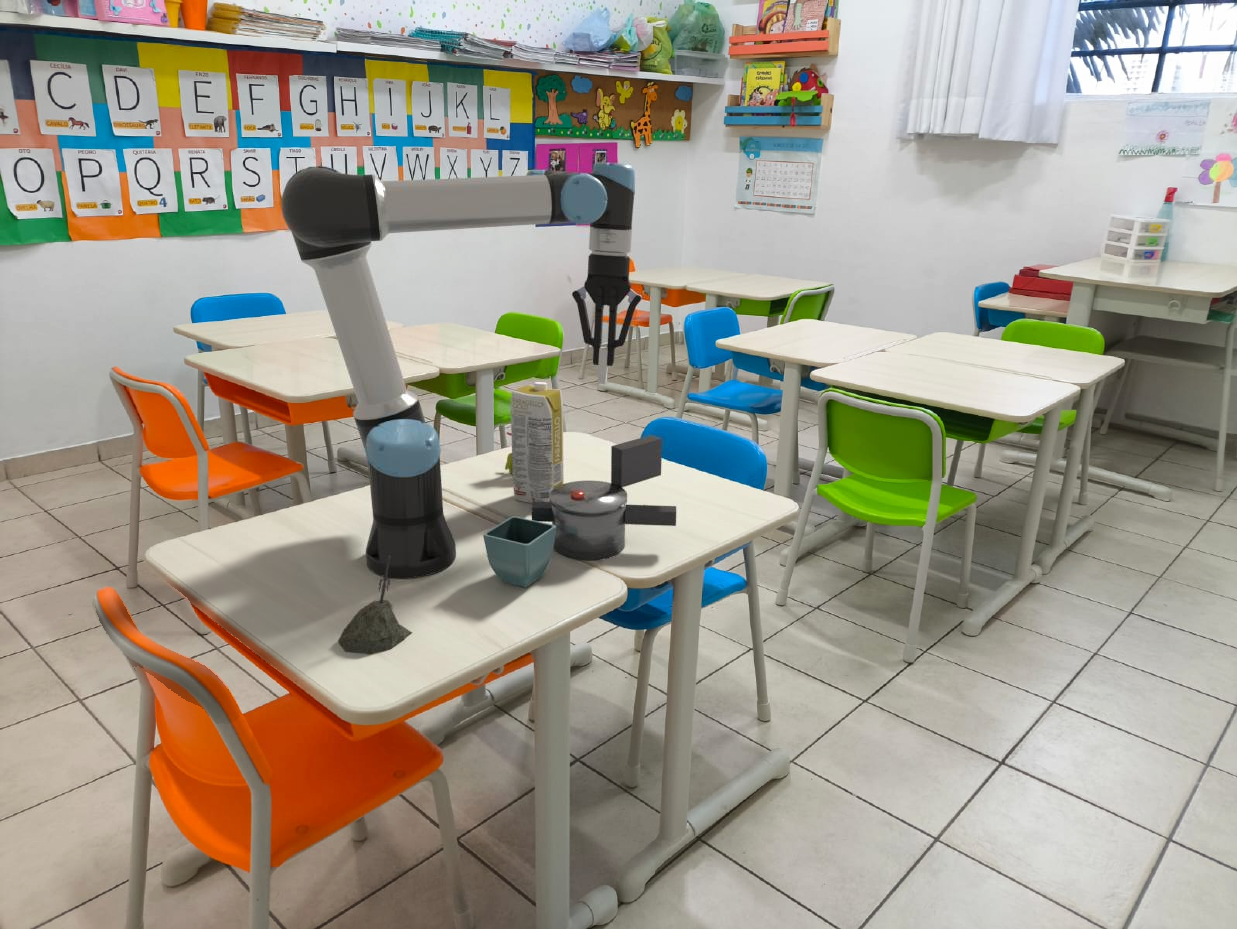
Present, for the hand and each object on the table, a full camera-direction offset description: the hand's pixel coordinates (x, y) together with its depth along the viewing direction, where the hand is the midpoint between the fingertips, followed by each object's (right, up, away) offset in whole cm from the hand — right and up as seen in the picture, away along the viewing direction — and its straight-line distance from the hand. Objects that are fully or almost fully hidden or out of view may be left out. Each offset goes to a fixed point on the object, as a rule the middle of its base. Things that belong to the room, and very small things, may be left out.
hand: (602, 382), depth 164 cm
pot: (0, -30, -7) cm, 31 cm away
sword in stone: (-32, -41, -37) cm, 64 cm away
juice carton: (-13, -23, +14) cm, 29 cm away
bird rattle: (-17, -18, +27) cm, 37 cm away
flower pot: (-13, -35, -19) cm, 42 cm away
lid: (+1, -21, -7) cm, 22 cm away
